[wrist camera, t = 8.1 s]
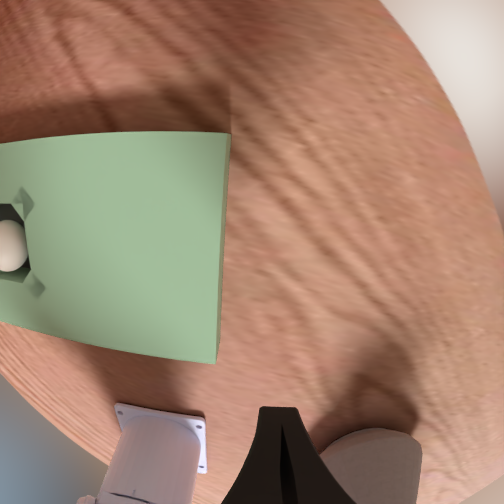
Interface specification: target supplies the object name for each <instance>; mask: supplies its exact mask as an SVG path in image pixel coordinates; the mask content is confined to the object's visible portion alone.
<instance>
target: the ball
mask: <svg viewBox="0 0 504 504" xmlns="http://www.w3.org/2000/svg"><path fill="white" fill-rule="evenodd" d="M27 257H28V248H27V240H26V232H25V229H24V228H23V226H22V225H20V224H19V223H17V222H16V221H13V220H3V221H0V270H1V271H6V272H10V271H14V270H16V269H18V268H19V267H21V266H22V265H23V263H24V262H25V261H26V259H27Z"/></svg>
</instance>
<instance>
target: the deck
mask: <svg viewBox="0 0 504 504" xmlns="http://www.w3.org/2000/svg"><path fill="white" fill-rule="evenodd" d="M230 147H231V134H228V133H213V132H180V131H144V132H112V133H93V134H79V135H67V136H57V137H47V138H39V139H31V140H23V141H16V142H9V143H3V144H0V221H3V220H13V221H16V222H17V223H19V224H20V225H22V226H23V228H24V229H25V232H26V240H27V248H28V257H27V259H26V261H25V262H24V263H23V265H22V266H21V267H19V268H18V269H16V270H14V271H10V272H6V271H1V270H0V321H2V322H5V323H9V324H12V325H15V326H19V327H22V328H26V329H29V330H33V331H36V332H40V333H44V334H48V335H51V336H55V337H59V338H64V339H68V340H72V341H76V342H81V343H85V344H90V345H94V346H99V347H104V348H109V349H114V350H120V351H125V352H131V353H137V354H143V355H149V356H155V357H162V358H169V359H176V360H183V361H191V362H200V363H209V364H216V360H217V354H218V349H219V343H220V325H221V301H222V278H223V258H224V240H225V222H226V206H227V190H228V175H229V161H230Z"/></svg>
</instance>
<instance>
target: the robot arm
mask: <svg viewBox="0 0 504 504" xmlns="http://www.w3.org/2000/svg"><path fill="white" fill-rule="evenodd" d="M114 408H115V412H116V415H117V418H118V421H119V424H120V428H121V431H122V434H121V437H120V439H119V442H118V445H117V447H116V450H115V452H114V455H113V457H112V460H111V462H110V465H109V468H108V471H107V473H106V476H105V478H104V481H103V484H102V486H101V489H100V492H99V495H98V496H97V497H96V498H94V497H92V496H90V495H87V496H86V497H81V498H79V500H78V501H77V504H192V502H193V495H194V489H195V483H196V477H197V473H207V449H206V421H205V419H204V418H202V417H198V416H190V415H183V414H176V413H170V412H164V411H158V410H152V409H147V408H142V407H137V406H132V405H127V404H123V403H116V404H115V406H114ZM221 504H357V503H356V502H355V501H354V500H353V499H352V498H351V497H350V496H349V495H348V494H347V493H346V492H345V490H344V489H343V488H342V487H341V485H340V484H339V483H338V482H337V480H336V479H335V478H334V476H333V475H332V474H331V472H330V471H329V469H328V468H327V466H326V465H325V463H324V462H323V460H322V458H321V457H320V455H319V453H318V452H317V450H316V448H315V446H314V445H313V443H312V441H311V439H310V437H309V435H308V433H307V431H306V429H305V426H304V424H303V422H302V419H301V417H300V414H299V412H298V409H297V408H296V407H267V406H263V407H261V408H260V409H259V415H258V422H257V428H256V434H255V437H254V440H253V443H252V445H251V448H250V451H249V453H248V456H247V458H246V460H245V462H244V464H243V467H242V469H241V471H240V473H239V475H238V477H237V478H236V480H235V482H234V484H233V486H232V487H231V489H230V491H229V492H228V494H227V495H226V497H225V498H224V500H223V501H222V503H221Z"/></svg>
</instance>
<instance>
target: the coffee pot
mask: <svg viewBox="0 0 504 504" xmlns="http://www.w3.org/2000/svg"><path fill="white" fill-rule="evenodd" d="M320 457H321V458H322V460H323V462H324V463H325V465H326V466H327V468H328V469H329V471H330V472H331V474H332V475H333V476H334V478H335V479H336V480H337V482H338V483H339V484H340V485H341V487H342V488H343V489H344V490H345V492H346V493H347V494H348V495H349V496H350V497H351V498H352V499H353V500H354V501H355V502H356V503H357V504H416V500H417V494H418V487H419V480H420V472H421V463H422V449H421V445H420V443H419V442H418V441H416V440H415V439H414V438H413V437H411V436H410V435H408V434H406V433H403V432H399V431H395V430H388V429H385V428H370V429H363V430H360V431H356V432H353V433H350V434H348V435H345V436H343V437H341V438H339V439H337V440H336V441H334V442H333V443H331V444H330V445H329V446H328V447H327V448H326V449H325V450H324V451H323V452H322V453H321V454H320Z"/></svg>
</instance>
